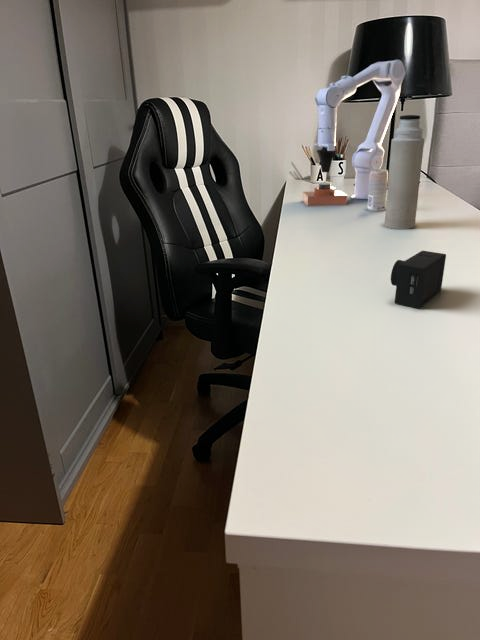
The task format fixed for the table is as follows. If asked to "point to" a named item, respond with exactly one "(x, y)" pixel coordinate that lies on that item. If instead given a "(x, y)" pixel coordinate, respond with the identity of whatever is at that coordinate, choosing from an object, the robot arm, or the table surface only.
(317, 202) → the orange stepped block
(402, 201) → the thermos bottle
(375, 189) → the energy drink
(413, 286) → the digital camera
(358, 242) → the table surface
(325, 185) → the lid button
